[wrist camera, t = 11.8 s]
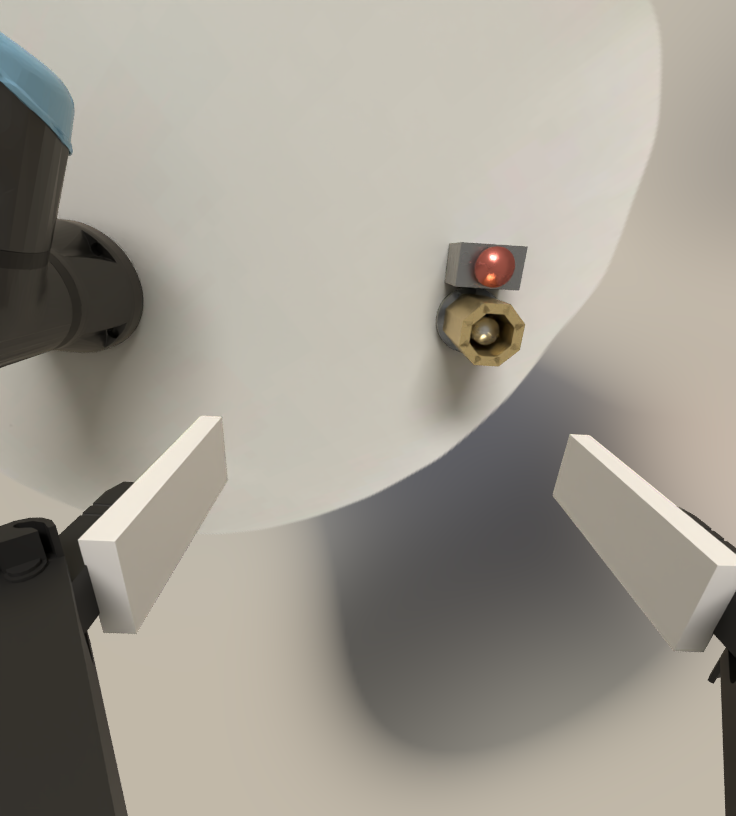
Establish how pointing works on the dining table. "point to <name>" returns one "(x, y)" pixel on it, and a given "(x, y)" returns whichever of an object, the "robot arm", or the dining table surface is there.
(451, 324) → the tan octagonal tube
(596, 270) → the dining table surface
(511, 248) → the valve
